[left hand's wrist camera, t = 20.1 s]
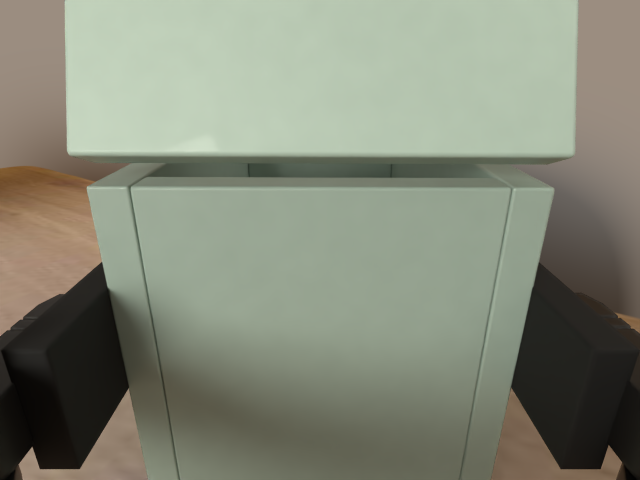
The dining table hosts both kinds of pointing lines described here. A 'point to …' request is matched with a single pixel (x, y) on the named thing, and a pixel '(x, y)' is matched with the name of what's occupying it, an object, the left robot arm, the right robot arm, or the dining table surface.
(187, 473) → the chest
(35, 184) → the dining table surface
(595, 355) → the left robot arm
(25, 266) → the dining table surface
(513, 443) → the dining table surface
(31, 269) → the dining table surface
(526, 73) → the lid
